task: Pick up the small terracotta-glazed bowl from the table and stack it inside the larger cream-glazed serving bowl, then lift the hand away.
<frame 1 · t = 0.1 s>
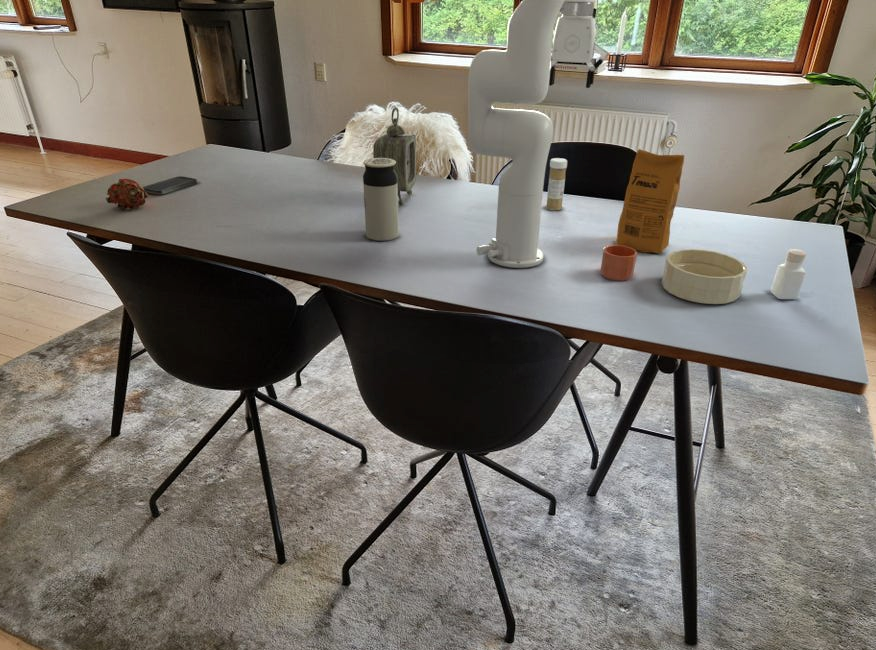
hand: (569, 86, 163), 31 cm above the table, tool pointing down, fingers open, 9 cm apart
serving bowl: (699, 290, 129), on the table
pepper shaker: (782, 297, 127), on the table
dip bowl: (616, 274, 135), on the table
travel mug: (382, 236, 154), on the table
sprinkles bottle: (553, 209, 175), on the table
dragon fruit: (129, 208, 170), on the table
weathered lantern: (396, 200, 180), on the table
coffee package: (641, 246, 151), on the table
phone: (170, 187, 187), on the table
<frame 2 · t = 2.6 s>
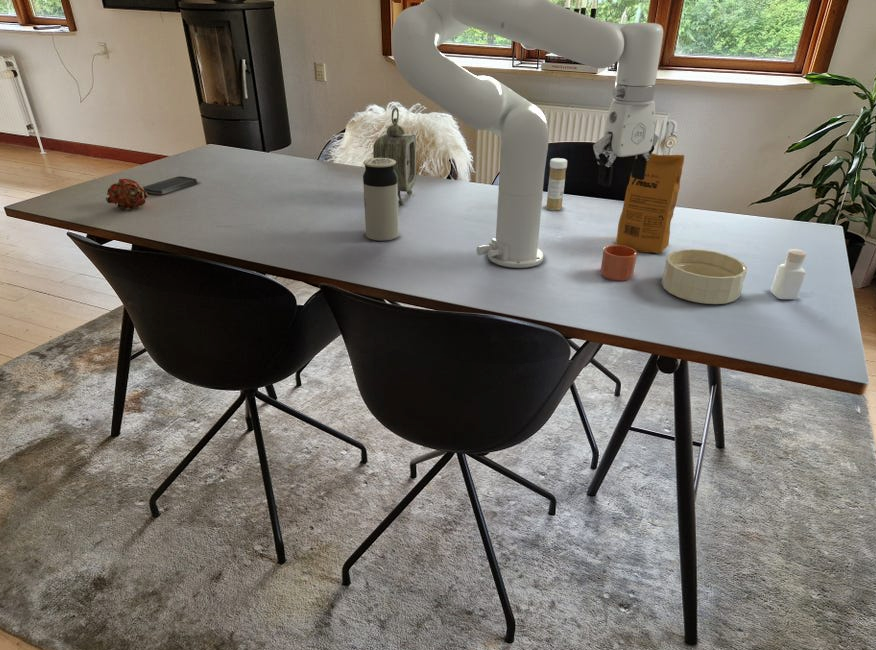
hand: (620, 181, 132), 18 cm above the table, tool pointing down, fingers open, 9 cm apart
nothing on the table moved.
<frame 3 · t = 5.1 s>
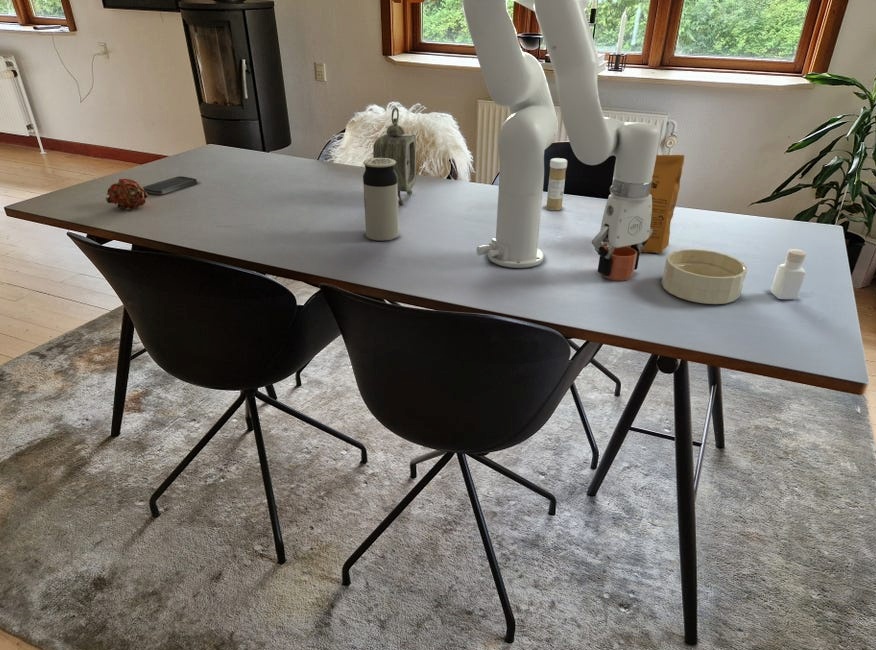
hand: (617, 270, 135), 1 cm above the table, tool pointing down, fingers closed on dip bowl, 7 cm apart
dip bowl: (616, 274, 135), on the table, touching gripper
everything else where it was.
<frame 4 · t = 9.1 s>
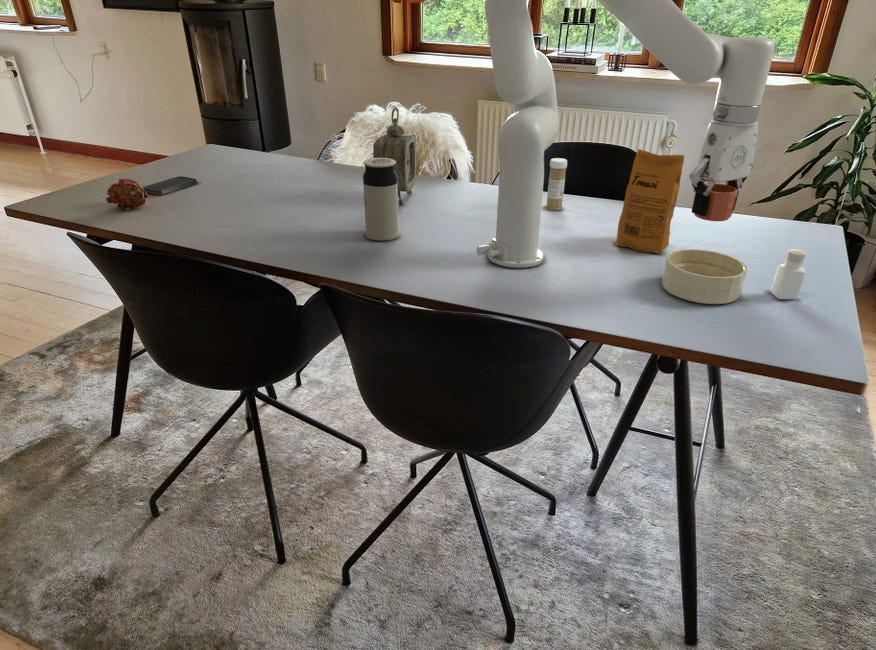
hand: (712, 210, 121), 17 cm above the table, tool pointing down, fingers closed on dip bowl, 7 cm apart
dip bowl: (711, 216, 122), point 15 cm above the table, touching gripper
everything else where it was.
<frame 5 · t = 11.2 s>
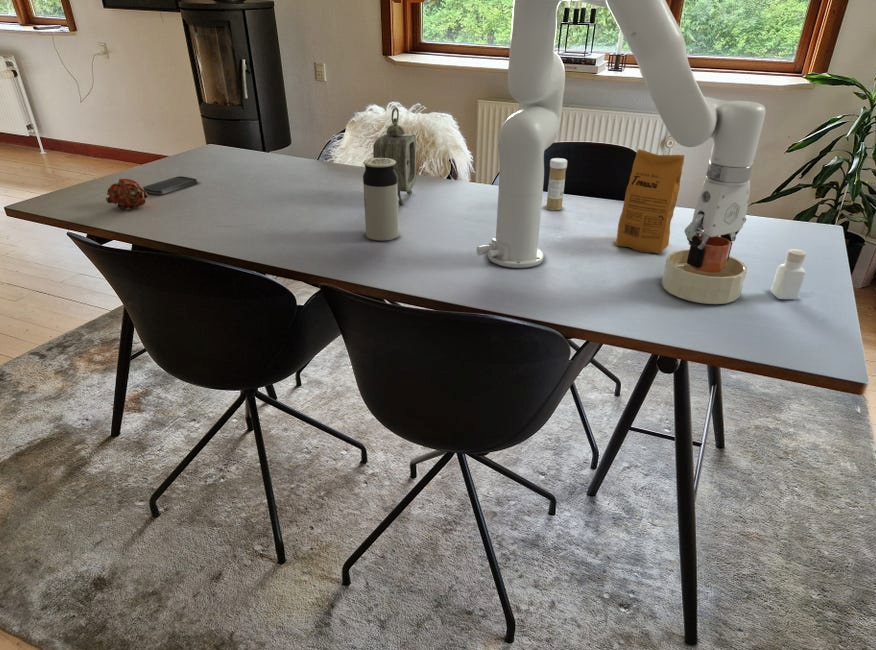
hand: (707, 261, 126), 6 cm above the table, tool pointing down, fingers closed on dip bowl, 7 cm apart
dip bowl: (706, 266, 126), point 5 cm above the table, touching gripper
everything else where it was.
when the fingers open (2 cm above the table, at t = 13.0 s): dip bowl stays where it is, resting on serving bowl.
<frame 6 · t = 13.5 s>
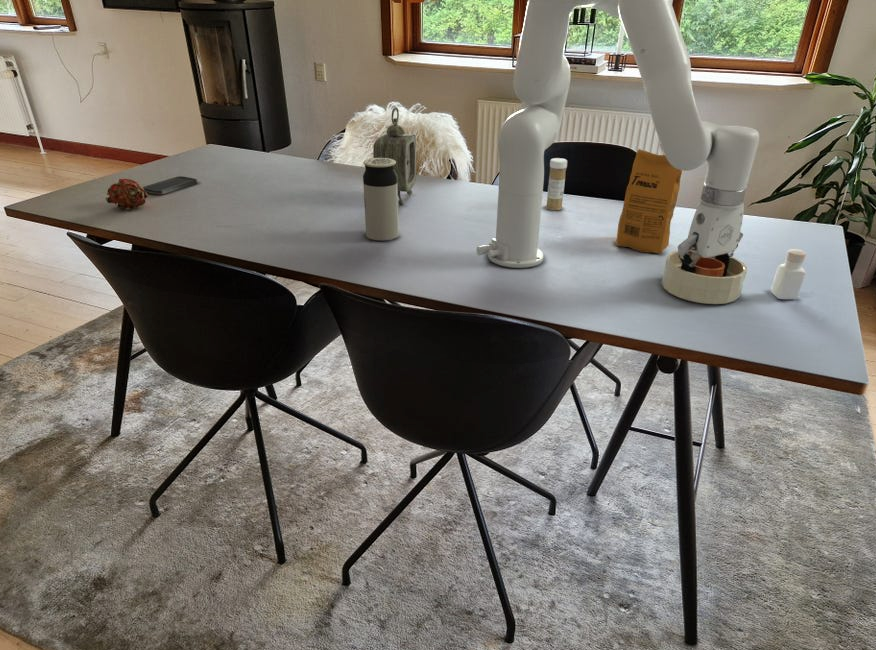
hand: (701, 278, 128), 3 cm above the table, tool pointing down, fingers open, 9 cm apart
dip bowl: (700, 287, 129), resting on serving bowl
everything else where it was.
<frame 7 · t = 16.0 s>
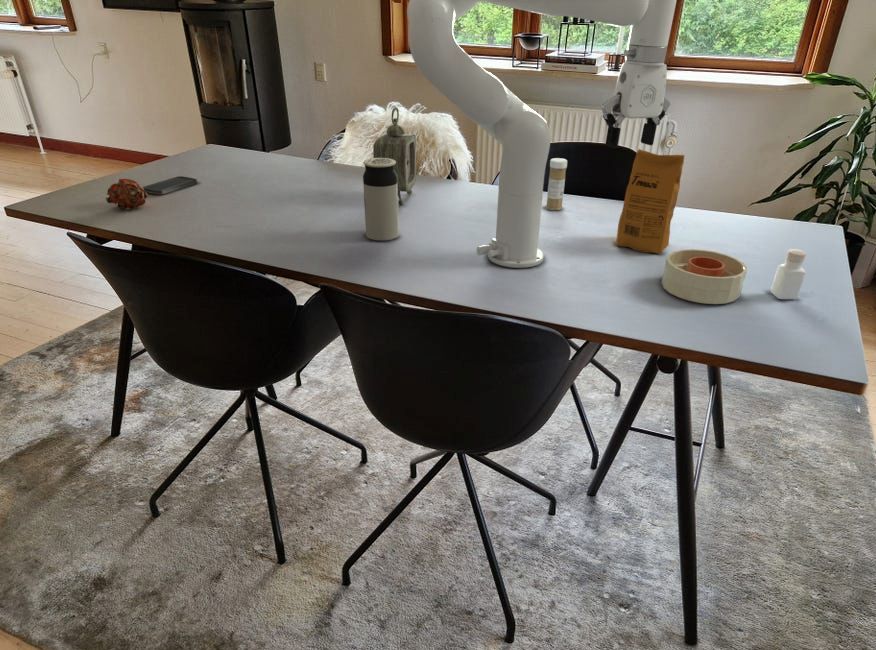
hand: (629, 145, 132), 25 cm above the table, tool pointing down, fingers open, 9 cm apart
nothing on the table moved.
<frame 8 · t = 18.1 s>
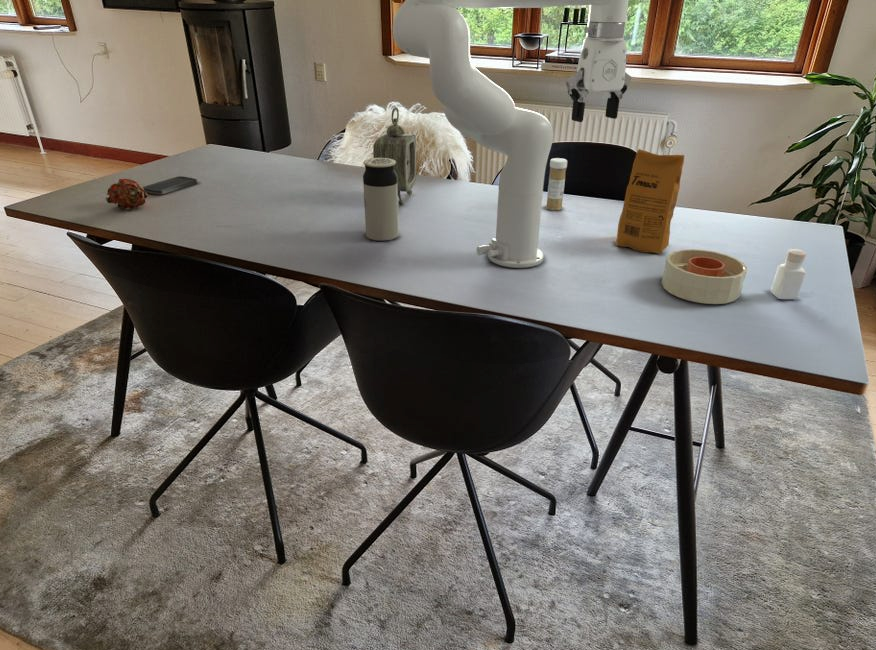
hand: (594, 119, 138), 28 cm above the table, tool pointing down, fingers open, 9 cm apart
nothing on the table moved.
at the end: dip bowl 0.0 cm off-centre in the serving bowl, point 0.5 cm above the serving bowl's base; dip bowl tilted 0°; the gripper is holding nothing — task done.
